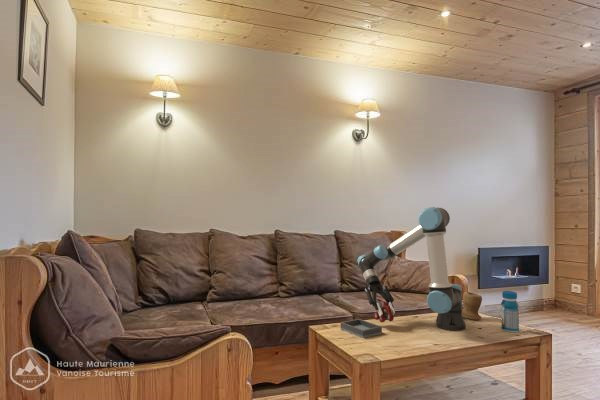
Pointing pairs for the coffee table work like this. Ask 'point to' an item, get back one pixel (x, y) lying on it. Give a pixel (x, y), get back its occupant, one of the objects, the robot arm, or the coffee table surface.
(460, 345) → the coffee table surface
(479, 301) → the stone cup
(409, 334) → the coffee table surface
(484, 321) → the coffee table surface
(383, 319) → the toy fire truck
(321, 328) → the coffee table surface
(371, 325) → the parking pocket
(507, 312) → the beverage bottle
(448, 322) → the robot arm
